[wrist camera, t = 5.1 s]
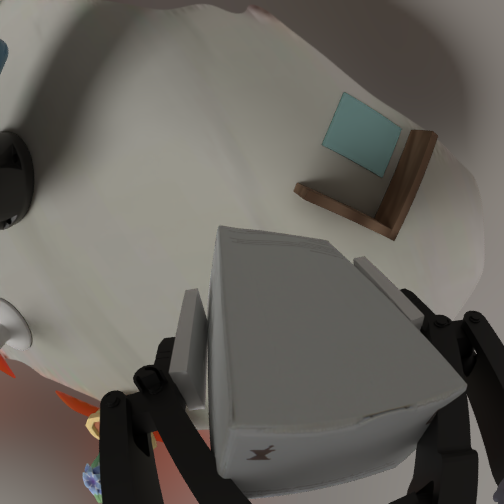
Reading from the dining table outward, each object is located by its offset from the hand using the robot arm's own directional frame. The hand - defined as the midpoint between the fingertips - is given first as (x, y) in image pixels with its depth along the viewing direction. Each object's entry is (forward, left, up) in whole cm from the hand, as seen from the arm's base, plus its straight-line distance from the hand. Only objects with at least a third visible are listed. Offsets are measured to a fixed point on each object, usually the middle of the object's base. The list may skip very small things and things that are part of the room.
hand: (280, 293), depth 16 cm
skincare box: (0, 0, -4) cm, 4 cm away
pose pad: (+10, +15, -20) cm, 27 cm away
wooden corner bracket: (+11, +12, -20) cm, 26 cm away
